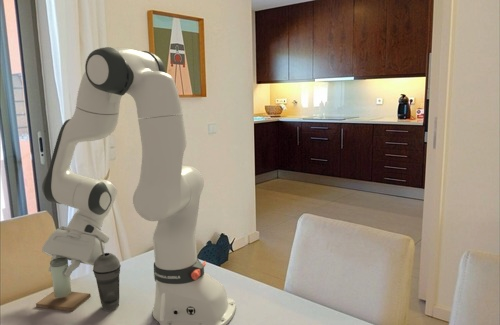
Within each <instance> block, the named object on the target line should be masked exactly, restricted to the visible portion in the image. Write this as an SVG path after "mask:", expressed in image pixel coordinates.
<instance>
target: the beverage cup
mask: <svg viewBox="0 0 500 325" xmlns="http://www.w3.org/2000/svg"><path fill="white" fill-rule="evenodd" d="M99 241H100V246H101V250H102V254H101V255H100V256H99V257H98V258H97V259H96V260H95V262H94V265H92V267H93V268H92V271H93V275H94V277H95V280H96V281H95V282H96V286H97V290H98V295H99V296H98V297H99V301H100V304H101V309H102V310H104V311H107V312H109V311H113V310H115V309H116V310H117V308H119V306H120V273H121V266H122V265H121V264H120V263H121V262H120V260H119V258H118V257H117V256H116V255H115V254H113V253H109V252H105V249H104V250H103V245H102V241H101V238H100V239H99Z"/></svg>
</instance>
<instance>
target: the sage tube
mask: <svg viewBox="0 0 500 325" xmlns="http://www.w3.org/2000/svg"><path fill="white" fill-rule="evenodd" d="M50 266H51V272H50V273H51V281H52V289H53V291H54V296H55V297H57V298H61V297H65V296H68V295H69V294H71V292H72V286H71V285H72V284H71V275H70V276H69V277H68V276H65V275H63V274H62V272H63V271H64V269H65V268H68V267H69V260H68V259H67V258H57V259H54V260H52V261H51V260H50V261H49V267H50Z"/></svg>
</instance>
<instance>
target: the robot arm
mask: <svg viewBox="0 0 500 325" xmlns="http://www.w3.org/2000/svg"><path fill="white" fill-rule="evenodd" d="M84 68H85V69H84V70H85V71H84V73H83V74H82V77H81V80H80V84H79V86H78V87H79V88H78V91H77V92H78V93H77V97H76V101H75V102H76V103H75V111H74V112H73V115H72V116H71V118H68V119H66V120H65V121H64V122H63V124H62V125H61V128H60V130H59V132H58V135H57V138H56V141H55V145H54V148H53V152H52V157H51V159H50V163H49V167H48V170H47V172H46V175H45V176H44V179H43V181H42V185H41V190H42V194H43V196H44V198H45V199H46V200H47V202H50V203H55V204H59V205H65V206H67V207H71V208H74V209H77V211H75V213H74V214H73V215H72V217H71V219H70V221H69V223H67V226H65V225H64V226H60V227H58V228H56V229H55V230H54V231H53V232H52V233H51V234H50V235H49V237H48V238H47V239H46V241H45V243H44V244H43V245H42V248H41V250H42V253H44V254H46V255H48V256H51V259H50V262H51V261H52V260H54V259H57V258H67V259H68V261H70V265H68V268H65V269H64V271H63V272H62V274H63V275H65V276H68V277H69V276H70V277H71V276H72V273H73V272H74V271H75V270H77V269H78V268H79V267H80V265H81V264H85V265H90V266H94V262H95V260H96V259H97V258H98V257H99V256H100V255H101V254H102V250H101V246H100V241H99V239H100V238H101V241H102V245H103V250H104V251H105V249H106V244H107V243H108V242H109V240H110V236H109V235H108V234H107V233H105V232H104V231H103V230H102V229H101V228H102V227H103V224H104V223H103V222H104V221H105V219H106V218H107V217H108V215H109V213H110V212H111V210H112V207H113V206H114V203H115V201H116V199H117V194H118V189H117V187H116V185H114V184H113V182H111V181H109V180H107V179H104V178H100V179H96V178H93V177H89V176H85V175H81V174H80V173H75V172H73V171H72V170H71V167H70V166H71V163H72V160H73V156H74V153H75V150H76V146H77V145H78V144H79V143H83V142H93V141H99V140H102V139H105V138H108V137H109V136H110V135H111V134H113V133H114V131H116V128H117V125H118V121H119V114H120V107H121V106H120V105H121V100H122V96H124V95H126V94H128V95H130V96H131V97H132V98H133V100H134V101H135V102H134V103H135V106H136V114H137V121H138V127H139V134H140V142H141V165H140V166H141V167H140V175H139V180H138V183H137V186H136V189H135V191H134V192H133V196H132V202H133V203H132V204H133V208H134V209H135V211H136V213H137V215H139V216H140V217H141V218H142V219H144V220H146V221H148V222H157V224H156V226H155V229H154V232H153V236H152V241H153V253H154V254H153V255H154V256H153V257H154V262H153V278H154V281H155V298H154V304H153V310H152V316H153V319H155V320H156V321H157V322H158V323H159V325H228V323H229V322H231V320H232V319H233V317H234V315H235V313H236V311H237V305H236V301H235V299H233V298H229V297H228V296H227V290H226V288H225V286H224V285H223V284H222V283H221V282H219V281H218V280H217V279H215V278H213V277H212V276H211V275H209V274H208V273H207V272H205V267H206V266H207V265H206V264H207V262H206V260H204V261H202V262H203V263H202V262H201V261H200V259H199V258H198V256H197V255H198V254H197V252H198V251H197V235H196V234H197V223H198V222H197V221H198V215H199V209H200V208H199V206H200V202H201V201H200V199H201V195H202V192H203V189H204V183H205V182H204V177H203V175H202V173H201V171H199V169H197V168H196V167H194V166H192V165H183V158H184V154H185V151H186V148H187V137H186V130H185V128H186V127H185V122H184V121H185V120H184V115H183V108H182V102H181V99H180V95H179V90H178V88H177V85H176V82H175V79H174V77H173V76H172V75H170V73H166V68H165V65H164V62H163V61H162V59H161V58H160V57H159V56H158V55H157V54H154V53H153V52H150V51H146V50H139V49H138V50H137V49H133V48H130V47H109V46H106V47H99V48H97V49H94V50H92V51H91V52H90V53H89V54H88V56H87V58H86V60H85V65H84ZM48 272H50V273H51V266H50V265H49V267H48Z"/></svg>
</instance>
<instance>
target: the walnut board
mask: <svg viewBox="0 0 500 325" xmlns="http://www.w3.org/2000/svg"><path fill="white" fill-rule="evenodd" d="M91 297H92V295H91V293H87V292H78V291H71V294H69V295H68V296H65V297H61V298H57V297H55V296H54V290H53V291H52V292H51V293H49V294H47V295H46V296H45V297H43V298H42V299H41V300H39V301H37V302H35V306H36V307H37V308H43V309H44V308H45V309H52V310H60V311H68V312H74V311H75V310H76V309H77V308H79V307H80V306H82V304H84V303H85V302H87V300H89V299H90V298H91ZM36 307H35V308H36Z"/></svg>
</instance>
